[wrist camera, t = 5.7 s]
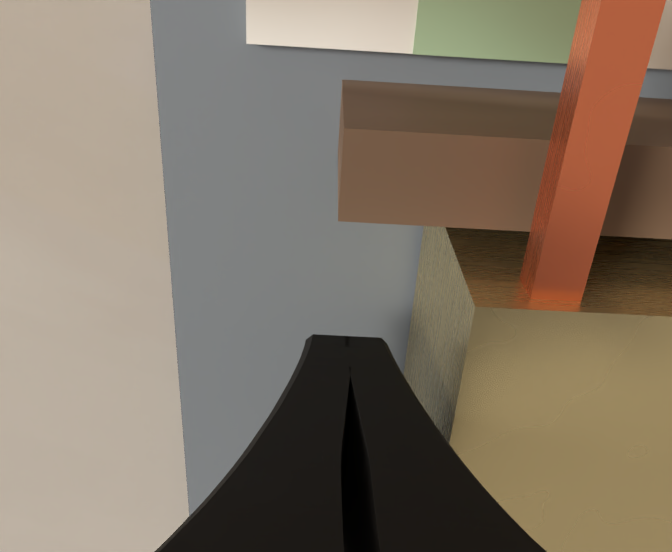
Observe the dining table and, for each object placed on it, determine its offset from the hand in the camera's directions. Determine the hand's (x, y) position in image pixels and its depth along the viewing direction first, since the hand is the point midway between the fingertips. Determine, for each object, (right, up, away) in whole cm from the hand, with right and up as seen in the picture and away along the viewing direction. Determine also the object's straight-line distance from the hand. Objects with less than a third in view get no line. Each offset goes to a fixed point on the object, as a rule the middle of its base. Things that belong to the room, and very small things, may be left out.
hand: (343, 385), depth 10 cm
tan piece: (+3, +2, +1) cm, 4 cm away
